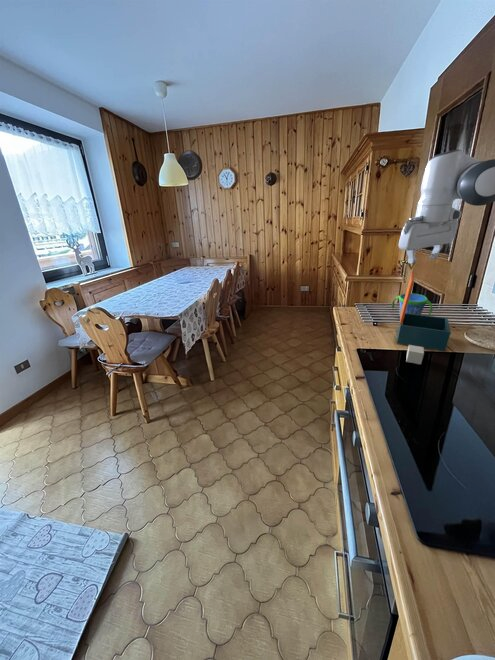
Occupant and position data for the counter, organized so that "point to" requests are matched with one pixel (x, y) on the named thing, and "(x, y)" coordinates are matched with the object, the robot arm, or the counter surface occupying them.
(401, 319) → the lid
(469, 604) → the counter surface
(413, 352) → the block
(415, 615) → the counter surface
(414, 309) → the snack cup
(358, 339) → the counter surface
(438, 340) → the dark teal open box
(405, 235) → the robot arm
